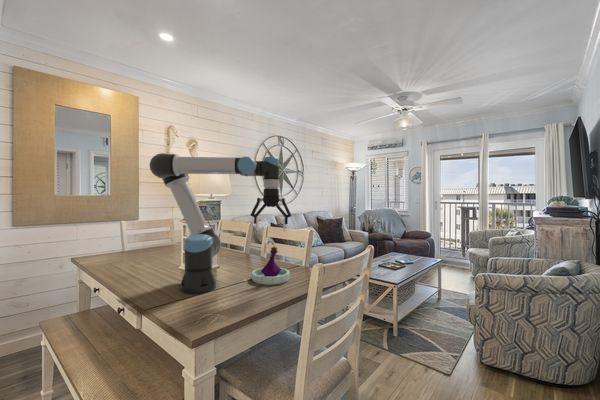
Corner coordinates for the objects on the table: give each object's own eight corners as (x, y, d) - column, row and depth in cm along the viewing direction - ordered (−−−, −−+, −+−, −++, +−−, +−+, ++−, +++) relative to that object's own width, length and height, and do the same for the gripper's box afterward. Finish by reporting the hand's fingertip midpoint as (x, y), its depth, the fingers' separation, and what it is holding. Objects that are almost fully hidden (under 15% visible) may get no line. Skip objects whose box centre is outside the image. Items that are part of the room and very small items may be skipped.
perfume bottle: (281, 275, 147) (281, 240, 147) (273, 279, 141) (273, 242, 140) (269, 273, 151) (269, 239, 151) (260, 277, 144) (260, 241, 144)
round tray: (248, 284, 137) (248, 276, 137) (256, 273, 155) (256, 266, 155) (286, 285, 135) (286, 277, 135) (291, 274, 154) (291, 267, 154)
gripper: (244, 187, 141) (244, 231, 142) (295, 188, 140) (294, 232, 140) (248, 188, 149) (248, 229, 149) (296, 188, 147) (296, 230, 148)
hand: (270, 230), depth 145 cm, fingers open, 13 cm apart
